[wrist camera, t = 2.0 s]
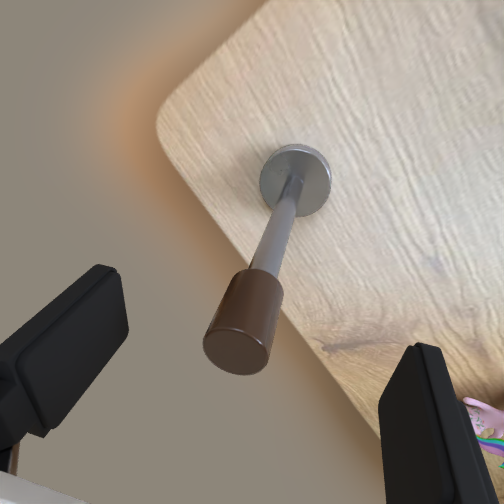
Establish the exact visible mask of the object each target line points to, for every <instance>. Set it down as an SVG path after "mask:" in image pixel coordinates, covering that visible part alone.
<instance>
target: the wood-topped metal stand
mask: <svg viewBox="0 0 504 504" xmlns="http://www.w3.org/2000/svg"><path fill="white" fill-rule="evenodd" d="M331 178H332V177H331V170H330V167H329V164H328V162H327V161H326V159H325V158H324V157H323V155H321V154H320V153H319V152H318V151H317V150H315V149H313V148H311V147H309V146H305V145H298V144H296V145H288V146H285V147H283V148H280V149H279V150H277V151H276V152H275V153H273V154H272V155H271V156H270V158H269V159H268V161H267V162H266V164H265V165H264V167H263V169H262V171H261V174H260V182H259V184H260V191H261V194H262V196H263V198H264V200H265V202H266V203H267V204H268V205H269V207H271V208H272V209H273V212H272V214H271V217H270V219H269V221H268V224H267V226H266V228H265V231H264V233H263V235H262V238H261V240H260V242H259V245H258V247H257V249H256V252H255V254H254V256H253V259H252V261H251V263H250V266H249V268H248V269H245V270H242V271H240V272H238V273H237V274H236V275H234V277H233V278H232V280H231V282H230V284H229V286H228V288H227V290H226V292H225V294H224V297H223V298H222V300H221V303H220V305H219V307H218V309H217V311H216V313H215V315H214V317H213V319H212V321H211V323H210V325H209V328H208V330H207V332H206V334H205V336H204V338H203V350H204V352H205V355H206V356H207V357H208V359H209V360H210V361H211V362H212V363H213V364H214V365H215V366H217V367H218V368H220V369H222V370H224V371H226V372H229V373H232V374H236V375H252V374H256V373H258V372H260V371H261V370H262V369H263V368H264V367H265V366H266V365H267V363H268V359H269V355H270V351H271V347H272V343H273V338H274V334H275V330H276V326H277V322H278V318H279V313H280V309H281V305H282V301H283V296H284V293H283V288H282V286H281V284H280V282H279V281H278V280H277V278H278V274H279V271H280V267H281V264H282V260H283V257H284V253H285V250H286V246H287V243H288V239H289V236H290V232H291V229H292V225H293V222H294V218H295V217H304V216H307V215H310V214H312V213H314V212H316V211H317V210H318V209H320V208H321V207H322V206H323V204H324V203H325V202H326V200H327V198H328V196H329V193H330V189H331Z"/></svg>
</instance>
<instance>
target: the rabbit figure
mask: <svg viewBox="0 0 504 504" xmlns="http://www.w3.org/2000/svg"><path fill="white" fill-rule="evenodd" d="M463 400H464V402H465V403H466V404H469V405H474V406H476V407H469V406H466V405H465V406H466V408H467V410H468V413H469V416H470V419H471V422H472V425H473V428H474V431H475V433H476V436H477V439H478V442H479V445H480V447H481V448H483V449H484V450H486V451H487V452H489V453H492V454H495V455H499V456H502V457H504V440H503V439H500V438H501V436H502V435H503V433H504V410H498V409H495V408H493V407H492V406H490V405H488V404H485V403H483V402H480V401H478V400H475V399H472V398H469V397H465V398H464V399H463ZM487 428H494V433H493V434H492V435H490V436H489V437H488V438H487V439H483V438H481V437H480V434H481V433H482V431H484V430H485V429H487ZM498 467H501V468H504V463H503V464H502V465H501V466H498Z"/></svg>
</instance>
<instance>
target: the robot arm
mask: <svg viewBox="0 0 504 504" xmlns="http://www.w3.org/2000/svg"><path fill="white" fill-rule="evenodd" d="M128 331H129V327H128V321H127V314H126V309H125V302H124V295H123V289H122V282H121V277H120V274H118V273H117V270H116V269H115V268H113V267H109V266H105V265H100V264H97V265H95V266H93V267H92V268H91V269H90V270H89V271H87V272H86V273H85V274H84V275H83V276H81V277H80V278H79V279H78V280H77V281H75V282H74V283H73V284H72V285H71V286H69V287H68V288H67V289H66V290H65V291H64V292H62V293H61V294H60V295H59V296H58V297H56V298H55V299H54V300H53V301H52V302H50V303H49V304H48V305H47V306H46V307H44V308H43V309H42V310H41V311H40V312H38V313H37V314H36V315H35V316H34V317H32V319H30V320H29V321H28V322H27V323H25V324H24V325H23V326H22V327H21V328H19V329H18V330H17V331H16V332H15V333H13V334H12V335H11V336H10V337H9V338H8V339H6V340H5V341H4V342H3V343H1V344H0V504H90V503H88V502H85V501H82V500H80V499H77V498H74V497H71V496H69V495H66V494H63V493H61V492H58V491H55V490H52V489H50V488H47V487H44V486H42V485H39V484H36V483H33V482H31V481H28V480H25V479H23V478H20V477H17V468H18V458H19V447H20V440H21V439H22V438H23V437H24V436H25V435H26V433H27V432H28V433H30V434H33V435H36V436H39V437H42V438H44V437H45V436H46V435H47V434H48V432H49V431H50V430H51V429H54V428H56V427H57V426H59V424H60V423H61V422H62V421H63V419H64V418H65V417H66V416H67V414H68V413H69V412H70V410H71V409H72V408H73V407H74V405H75V404H76V403H77V401H78V400H79V399H80V398H81V396H82V395H83V394H84V392H85V391H86V390H87V388H88V387H89V386H90V385H91V383H92V382H93V381H94V379H95V378H96V377H97V376H98V374H99V373H100V372H101V370H102V369H103V368H104V366H105V365H106V364H107V363H108V361H109V360H110V359H111V357H112V356H113V355H114V354H115V352H116V351H117V349H118V348H119V347H120V346H121V345H122V343H123V342H124V341H125V339H126V338H127V335H128ZM378 414H379V425H380V436H381V447H382V459H383V470H384V481H385V492H386V504H499V501H498V498H497V495H496V492H495V489H494V486H493V483H492V481H491V478H490V475H489V472H488V469H487V466H486V463H485V460H484V457H483V454H482V451H481V448H480V445H479V442H478V439H477V436H476V433H475V431H474V428H473V425H472V422H471V419H470V416H469V413H468V410H467V408H466V406H465V405H464V404H463V403H462V402H461V401H459V400H457V398H456V394H455V391H454V388H453V385H452V382H451V379H450V376H449V373H448V369H447V366H446V363H445V360H444V357H443V354H442V351H441V349H440V348H439V347H436V346H432V345H428V344H423V343H419V342H417V343H416V344H415V345H414V346H411V345H409V346H408V347H407V349H406V350H405V352H404V354H403V356H402V358H401V360H400V362H399V364H398V365H397V367H396V369H395V371H394V373H393V375H392V377H391V378H390V380H389V382H388V384H387V386H386V388H385V390H384V392H383V393H382V395H381V397H380V400H379V404H378Z"/></svg>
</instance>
